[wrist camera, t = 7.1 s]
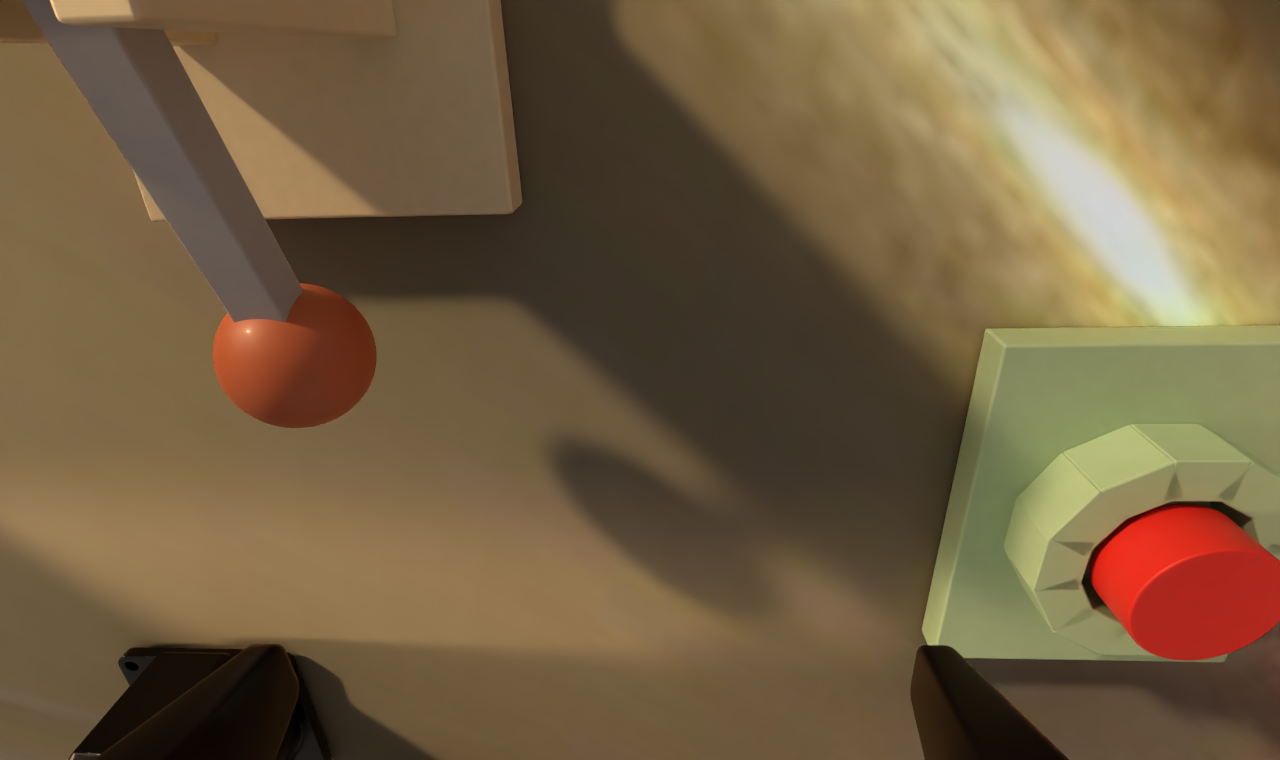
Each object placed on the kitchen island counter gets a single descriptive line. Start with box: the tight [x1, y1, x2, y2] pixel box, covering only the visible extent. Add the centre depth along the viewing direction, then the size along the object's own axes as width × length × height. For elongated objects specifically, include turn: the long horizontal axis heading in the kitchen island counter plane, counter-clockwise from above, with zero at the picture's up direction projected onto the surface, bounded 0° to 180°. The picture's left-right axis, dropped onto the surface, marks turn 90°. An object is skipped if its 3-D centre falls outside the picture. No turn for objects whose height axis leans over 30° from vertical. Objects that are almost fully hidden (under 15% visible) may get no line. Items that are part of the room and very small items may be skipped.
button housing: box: [922, 325, 1280, 662], centre depth 18 cm, size 11×9×3 cm
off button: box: [1090, 504, 1280, 661], centre depth 17 cm, size 4×4×2 cm
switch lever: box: [21, 0, 377, 428], centre depth 11 cm, size 12×3×3 cm, turn 2°
